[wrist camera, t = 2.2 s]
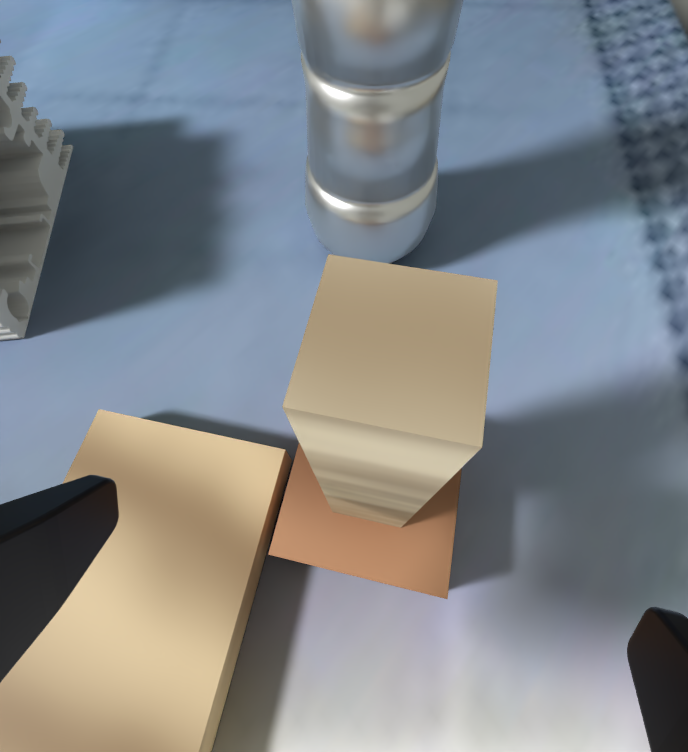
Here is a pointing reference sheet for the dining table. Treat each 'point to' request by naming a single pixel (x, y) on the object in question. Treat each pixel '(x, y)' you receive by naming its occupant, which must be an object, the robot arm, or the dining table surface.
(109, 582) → the board
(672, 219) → the dining table surface
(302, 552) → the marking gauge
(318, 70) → the plastic bottle
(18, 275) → the aluminum extrusion profile
